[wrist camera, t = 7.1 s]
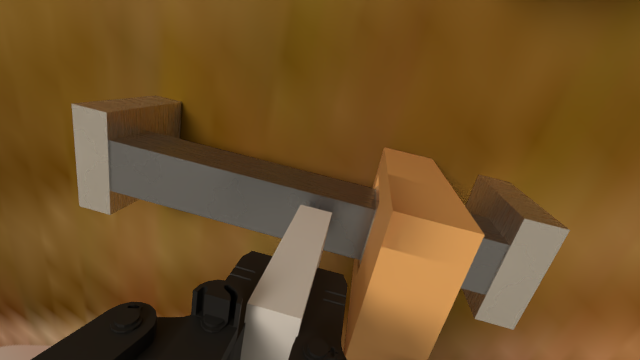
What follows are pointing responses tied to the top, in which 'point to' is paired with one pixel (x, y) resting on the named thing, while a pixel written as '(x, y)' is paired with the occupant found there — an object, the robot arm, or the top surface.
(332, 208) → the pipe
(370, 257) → the collar
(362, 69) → the top surface
